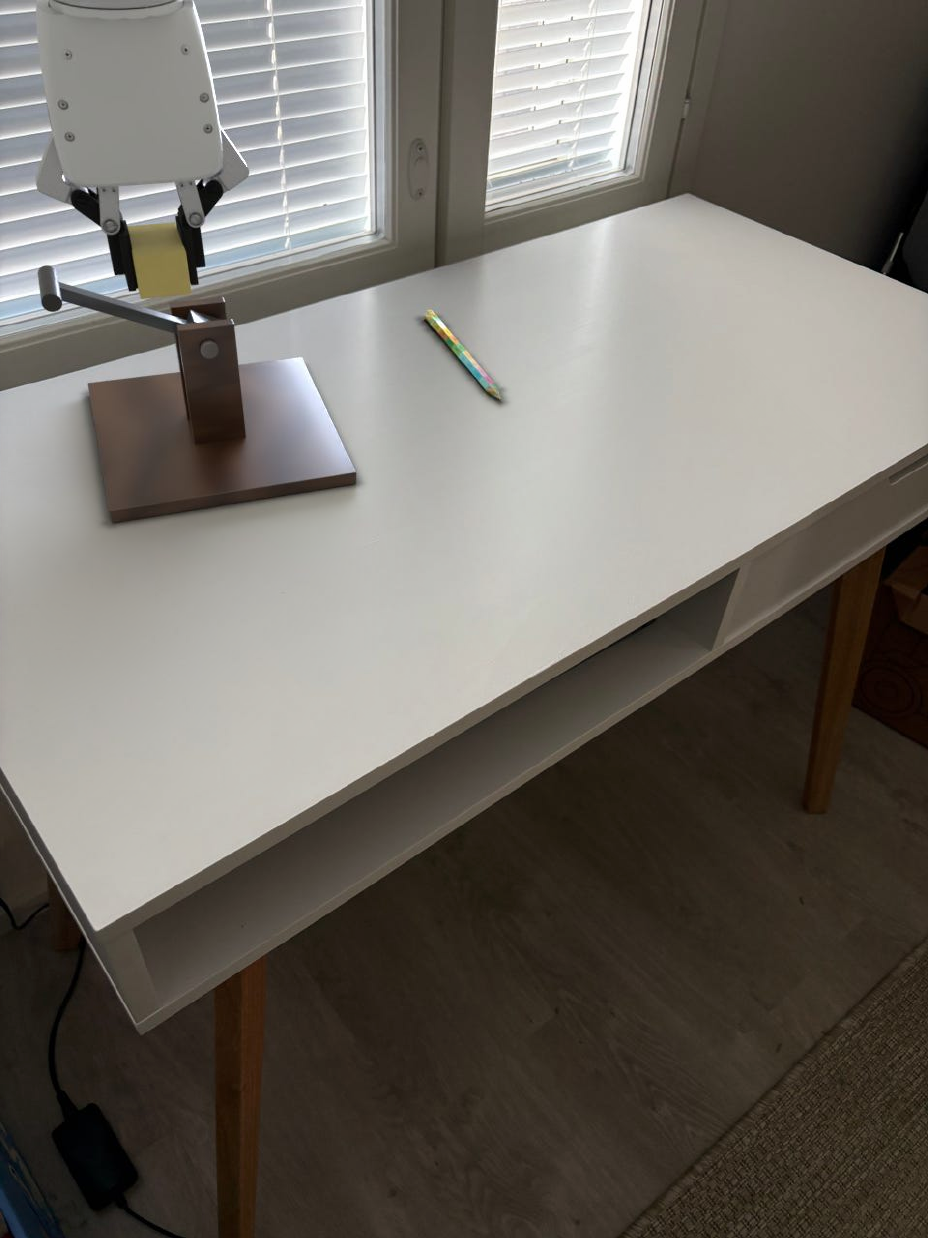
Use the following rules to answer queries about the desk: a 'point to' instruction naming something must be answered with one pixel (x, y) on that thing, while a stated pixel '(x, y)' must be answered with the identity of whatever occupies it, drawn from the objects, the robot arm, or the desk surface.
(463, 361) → the pencil
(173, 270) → the butter
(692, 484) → the desk surface
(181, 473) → the slicer
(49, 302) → the lever
